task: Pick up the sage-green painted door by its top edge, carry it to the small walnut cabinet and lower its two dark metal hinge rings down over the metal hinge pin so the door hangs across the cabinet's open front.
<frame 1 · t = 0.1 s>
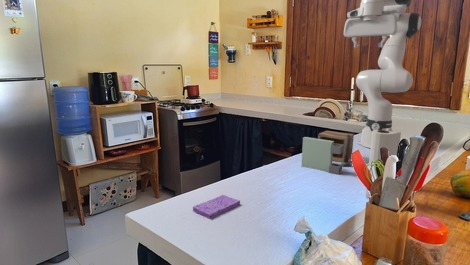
hand: (368, 47, 129), 48 cm above the countertop, tool pointing down, fingers open, 8 cm apart
pepper mill: (382, 184, 110), on the countertop
sponges: (217, 209, 91), on the countertop
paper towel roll: (378, 199, 98), on the countertop
cabinet door: (335, 172, 122), on the countertop
walnut cabinet: (334, 157, 141), on the countertop
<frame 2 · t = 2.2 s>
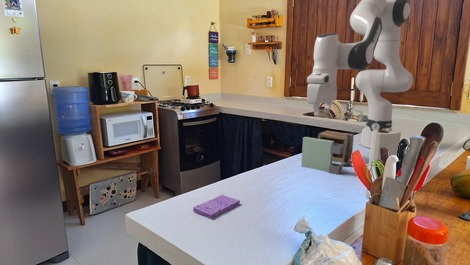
hand: (321, 114, 121), 22 cm above the countertop, tool pointing down, fingers open, 8 cm apart
nothing on the countertop moved.
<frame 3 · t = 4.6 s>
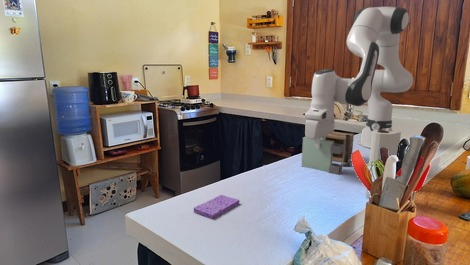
hand: (319, 146, 124), 9 cm above the countertop, tool pointing down, fingers closed on cabinet door, 2 cm apart
cabinet door: (335, 172, 122), on the countertop, touching gripper
everything else where it was.
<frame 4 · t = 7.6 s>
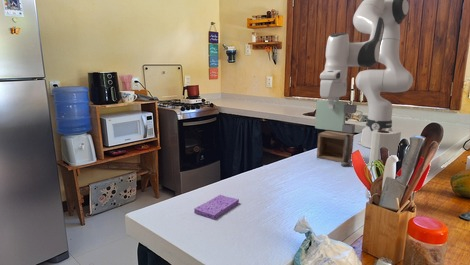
hand: (333, 108, 130), 23 cm above the countertop, tool pointing down, fingers closed on cabinet door
cabinet door: (348, 131, 128), point 14 cm above the countertop, touching gripper
everything else where it was.
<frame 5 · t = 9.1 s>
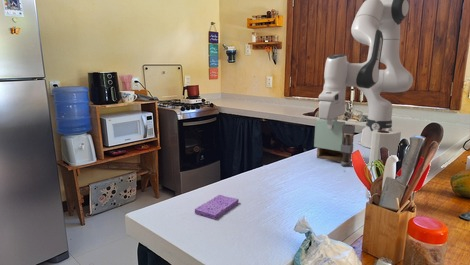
hand: (331, 128, 132), 15 cm above the countertop, tool pointing down, fingers closed on cabinet door
cabinet door: (346, 151, 129), point 6 cm above the countertop, touching gripper
everything else where it was.
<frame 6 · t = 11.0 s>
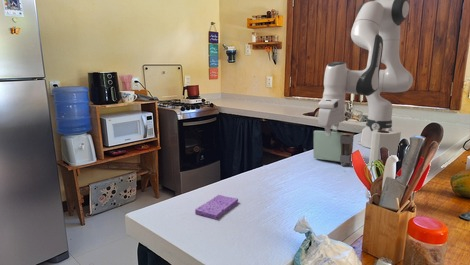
hand: (331, 134, 132), 12 cm above the countertop, tool pointing down, fingers open, 5 cm apart
cabinet door: (345, 161, 130), point 2 cm above the countertop, touching walnut cabinet
everything else where it was.
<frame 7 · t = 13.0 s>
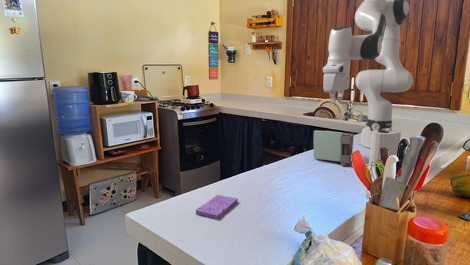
hand: (336, 101, 131), 26 cm above the countertop, tool pointing down, fingers open, 6 cm apart
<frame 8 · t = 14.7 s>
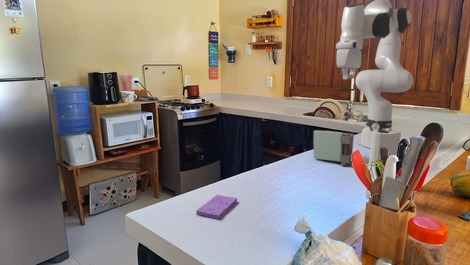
hand: (348, 79, 133), 35 cm above the countertop, tool pointing down, fingers open, 6 cm apart
at the end: cabinet door 0.1 cm from the target spot, point 1.6 cm above the countertop; cabinet door tilted 3°; the gripper is holding nothing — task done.
